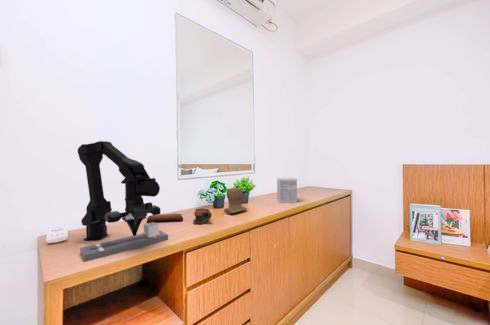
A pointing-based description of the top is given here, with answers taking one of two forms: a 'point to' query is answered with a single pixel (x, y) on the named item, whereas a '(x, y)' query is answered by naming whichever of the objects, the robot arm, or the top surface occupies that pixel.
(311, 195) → the top surface
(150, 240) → the fader track
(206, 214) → the pottery mug
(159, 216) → the sunglasses case
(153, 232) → the fader knob
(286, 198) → the supplement box
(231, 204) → the brown rounded stand
